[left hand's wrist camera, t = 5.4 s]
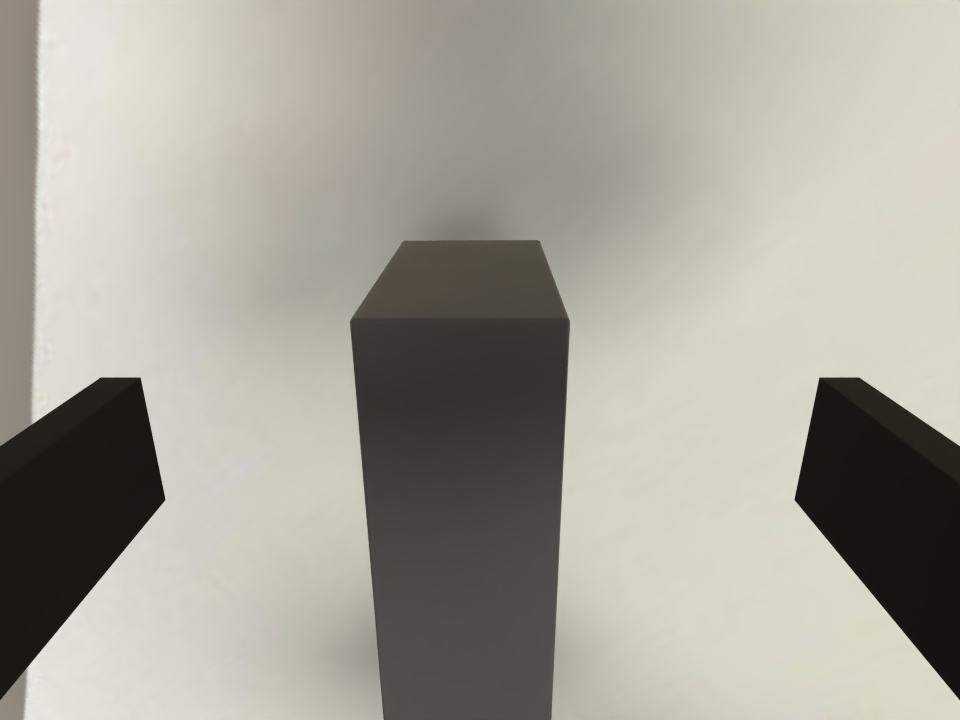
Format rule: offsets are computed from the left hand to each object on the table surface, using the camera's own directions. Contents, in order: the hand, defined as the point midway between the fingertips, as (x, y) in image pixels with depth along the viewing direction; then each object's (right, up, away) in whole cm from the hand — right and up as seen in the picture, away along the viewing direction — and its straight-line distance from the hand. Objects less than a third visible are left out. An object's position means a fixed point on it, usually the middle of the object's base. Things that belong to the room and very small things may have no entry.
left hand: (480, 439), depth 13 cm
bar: (0, -7, +14) cm, 16 cm away
